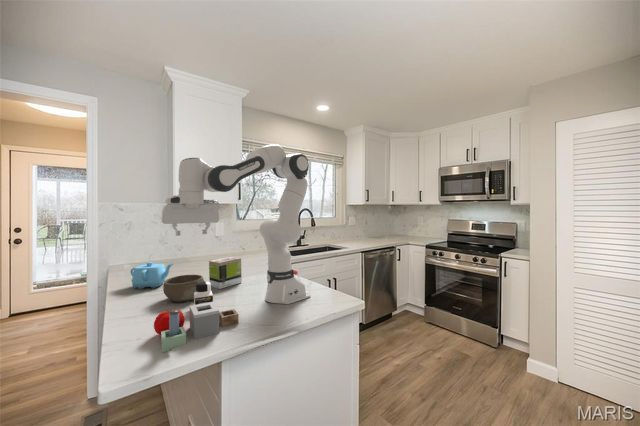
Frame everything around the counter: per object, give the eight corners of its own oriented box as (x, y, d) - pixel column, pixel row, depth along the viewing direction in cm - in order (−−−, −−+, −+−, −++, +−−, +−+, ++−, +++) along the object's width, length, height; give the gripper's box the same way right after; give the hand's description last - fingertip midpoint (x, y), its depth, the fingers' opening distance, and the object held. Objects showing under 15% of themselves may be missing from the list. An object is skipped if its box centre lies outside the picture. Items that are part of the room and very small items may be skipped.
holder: (233, 320, 107) (233, 308, 107) (238, 325, 102) (238, 314, 102) (218, 323, 104) (218, 312, 104) (222, 329, 99) (222, 317, 99)
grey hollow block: (212, 324, 103) (212, 301, 102) (219, 335, 94) (219, 310, 94) (189, 330, 98) (189, 305, 98) (194, 341, 90) (194, 315, 90)
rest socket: (183, 338, 92) (183, 326, 92) (186, 346, 87) (186, 334, 87) (161, 343, 89) (161, 331, 89) (162, 352, 83) (162, 339, 83)
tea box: (231, 280, 164) (231, 256, 164) (242, 283, 158) (242, 258, 158) (208, 286, 152) (208, 260, 152) (219, 289, 146) (219, 262, 146)
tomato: (148, 340, 90) (148, 316, 90) (164, 327, 101) (164, 304, 100) (177, 340, 91) (176, 315, 91) (190, 326, 101) (189, 304, 101)
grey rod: (178, 339, 90) (178, 309, 90) (179, 342, 87) (179, 311, 87) (168, 341, 88) (169, 310, 88) (169, 344, 86) (170, 313, 86)
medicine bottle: (194, 314, 113) (194, 285, 113) (194, 308, 119) (194, 281, 119) (213, 311, 116) (213, 283, 116) (211, 305, 122) (211, 279, 122)
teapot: (138, 293, 139) (137, 267, 139) (126, 286, 149) (126, 262, 149) (174, 285, 154) (174, 261, 153) (162, 279, 164) (162, 257, 163)
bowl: (155, 301, 128) (155, 280, 127) (189, 290, 143) (189, 272, 143) (179, 307, 120) (178, 285, 119) (211, 296, 135) (211, 276, 135)
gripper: (217, 200, 113) (217, 232, 113) (161, 199, 102) (161, 235, 102) (221, 199, 108) (221, 234, 108) (162, 198, 96) (162, 237, 97)
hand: (191, 234), depth 105 cm, fingers open, 8 cm apart
